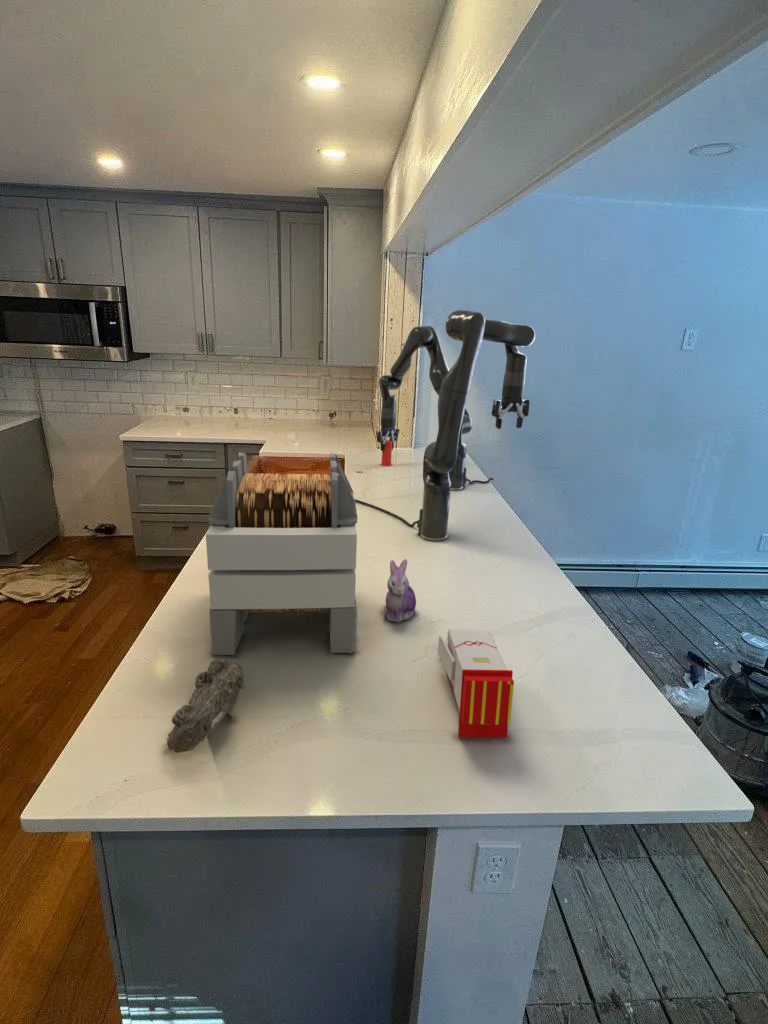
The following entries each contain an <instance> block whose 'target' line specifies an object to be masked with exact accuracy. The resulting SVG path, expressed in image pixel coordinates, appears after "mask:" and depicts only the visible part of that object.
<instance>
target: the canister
mask: <svg viewBox="0 0 768 1024" xmlns="http://www.w3.org/2000/svg"><path fill="white" fill-rule="evenodd" d="M392 453H393V450H392V441H391V440H389V439H387V440H386V441H385V451H381V466H383V467H384V466H385V467H390V466H392V456H393V455H392Z"/></svg>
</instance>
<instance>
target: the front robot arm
mask: <svg viewBox="0 0 768 1024" xmlns="http://www.w3.org/2000/svg"><path fill="white" fill-rule="evenodd" d="M445 332H446V335H447V336H448V337H449V338H451V339H452V340H454V341H457V342H462V345H461V350H460V352H459V355H458V358H457V360H456V361H455V363H454V365H452V367H451V368H450V369H449V372H448V373H447V374H446V376H445V377H444V379H443V381H442V383H441V388H440V393H439V396H438V399H437V421H438V424H437V425H438V427H437V429H438V430H437V436H436V440H435V441H433V442H431V443H429V444H428V445H427V446H426V448H425V450H424V453H423V459H422V460H423V461H422V481H423V493H422V496H423V497H422V506H421V508H420V509H419V516H418V520H416V521H413V522H412V524H411V523H409V522H408V521H407V520H406V519H404V518H403V517H401V516H399V515H398V514H395V513H393V512H391V511H389V510H386V509H383V508H382V507H380V506H377V505H374V504H371V503H368V502H365V501H362V500H359V499H356V498H354V501H355V503H359V504H362V505H365V506H367V507H370V508H374V509H376V510H378V511H381V512H384V513H385V514H388V515H390V516H392V517H395V518H396V519H398V520H400V521H402V522H403V523H404V524H405V525H407V526H408V527H409V528H413V527H415V526H416V528H418V530H417V535H418V536H420V538H421V539H424V540H426V541H432V542H440V541H444V540H446V539H447V538H448V525H449V517H450V516H449V514H450V504H451V494H452V493H451V491H452V490H451V481H450V478H449V471H451V470H452V469H453V467H454V466H455V463H456V460H457V451H458V442H459V434H460V429H461V425H462V421H463V416H464V412H465V408H467V407H466V406H467V403H468V398H469V394H470V393H469V392H470V388H471V382H472V379H473V373H474V369H475V365H476V361H477V358H478V355H479V351H480V349H481V344H482V342H483V341H487V342H491V343H495V344H502V345H504V349H505V356H506V357H505V358H506V360H505V361H506V362H505V370H504V375H503V381H502V390H501V399H500V400H499V399H493V403H492V409H491V417H494V418H495V428H496V429H498V430H501V429H502V425H503V424H502V423H503V417H504V416H505V415H506V414H507V413H511V412H512V413H515V414H516V416H517V417H516V424H515V427H516V428H517V429H521V428H522V427H523V423H524V422H523V421H524V418H525V417H528V416H529V413H530V400H529V399H526V398H524V399H523V397H524V391H525V383H526V371H527V370H526V369H527V360H528V357H527V354H524V353H522V352H520V351H519V348H518V347H523V348H526V347H529V346H531V345H532V344H533V343H534V342H535V339H536V332H535V329H534V328H533V326H530V325H527V324H516V323H511V322H507V321H503V320H495V319H486V318H485V316H484V315H483V313H482V312H479V311H473V310H466V309H457V310H454V311H452V312H451V313H450V314H449V315H448V316H447V318H446V321H445Z"/></svg>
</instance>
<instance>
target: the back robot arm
mask: <svg viewBox="0 0 768 1024" xmlns="http://www.w3.org/2000/svg"><path fill="white" fill-rule="evenodd" d="M418 349H426V351H427V354H428V356H429V359H430V360H429V361H430V362H429V363H430V364H429V371H428V373H429V374H428V377H429V380H430V383H431V385H432V386H431V387H432V388H433V390H434V392H435V393H436V395H437V396H438V397H439V393H440V388H441V383H442V381H443V379H444V377H445V376H446V374H447V373H448V372H449V371H450V369H449V367H448V364H447V360H446V359H445V356H444V353H443V351H442V347H441V344H440V340H439V337H438V333H437V332H436V329H435V328H434V327H433V326H431V325H418V326H414V327H413V328H412V329H411V331H410V332H409V333H408V335H407V338H406V341H405V343H404V345H403V347H402V349H401V352H400V354H399V356H397V359H396V360H395V362H394V363H393V365H392V366H391V368H390V374H384V375H381V377H380V378H379V382H378V386H379V390H380V396H381V410H380V430H376V431H375V436H376V442H377V443H379V444H380V446H379V447H380V449H379V450H380V451H381V452H382V451H385V441H386V440H391V441H392V451H393V450H394V448H395V447H394V446H395V442H397V441H398V439H399V434H400V429H399V428H396V425H397V396H396V395H395V394H391V392H390V391H394V390H395V391H396V390H398V389H399V388H400V387H401V386H402V384H403V380H404V377H405V375H406V374H407V372H408V371H409V370H410V368H411V365H412V361H413V360H412V358H413V355H414V353H415V352H416V351H417V350H418ZM472 428H473V421H472V417H471V415H470V413H469V411H468V410H467V407H465V412H464V416H463V421H462V425H461V429H460V434H459V442H458V451H457V460H456V463H455V466H454V467H453V469H452V470H451V471H449V478H450V481H451V491H461V490H463V489H465V488H466V484H467V482H468V483H469V484H470V485H472V484H474V483H479V484H488V483H490V482H491V481H494V478H493V477H489V478H488V479H487V480H485V481H483V480H477V479H473V480H470V479H469V478H467V476H466V475H467V467H466V456H467V444H466V443H465V442H463V441H462V437H463V436H462V435H467V434H469V433H470V432H471V431H472Z"/></svg>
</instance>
